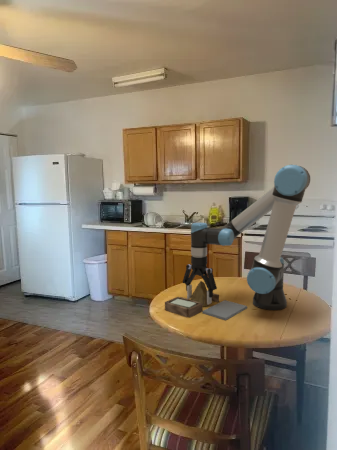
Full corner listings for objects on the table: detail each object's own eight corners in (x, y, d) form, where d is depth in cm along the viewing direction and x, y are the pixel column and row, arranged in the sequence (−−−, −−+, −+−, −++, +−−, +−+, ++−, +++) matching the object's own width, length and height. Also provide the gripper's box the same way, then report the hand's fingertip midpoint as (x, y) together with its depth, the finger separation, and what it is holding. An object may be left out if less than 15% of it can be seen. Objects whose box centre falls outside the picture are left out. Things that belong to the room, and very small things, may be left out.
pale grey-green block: (197, 311, 151) (197, 303, 151) (190, 316, 146) (190, 307, 146) (177, 307, 157) (177, 298, 157) (170, 311, 152) (170, 302, 152)
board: (247, 308, 154) (247, 306, 154) (225, 320, 141) (225, 318, 140) (224, 302, 162) (224, 300, 162) (202, 313, 149) (202, 311, 148)
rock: (214, 302, 155) (212, 292, 165) (203, 288, 153) (202, 279, 163) (195, 315, 157) (194, 304, 167) (184, 301, 155) (184, 291, 165)
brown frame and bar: (221, 302, 162) (221, 295, 161) (188, 318, 144) (188, 310, 143) (197, 295, 171) (197, 289, 171) (164, 309, 153) (163, 302, 153)
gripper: (224, 257, 153) (224, 304, 156) (184, 251, 168) (185, 293, 171) (215, 260, 147) (215, 309, 150) (174, 253, 163) (175, 297, 166)
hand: (199, 300), depth 161 cm, fingers closed on rock, 11 cm apart
